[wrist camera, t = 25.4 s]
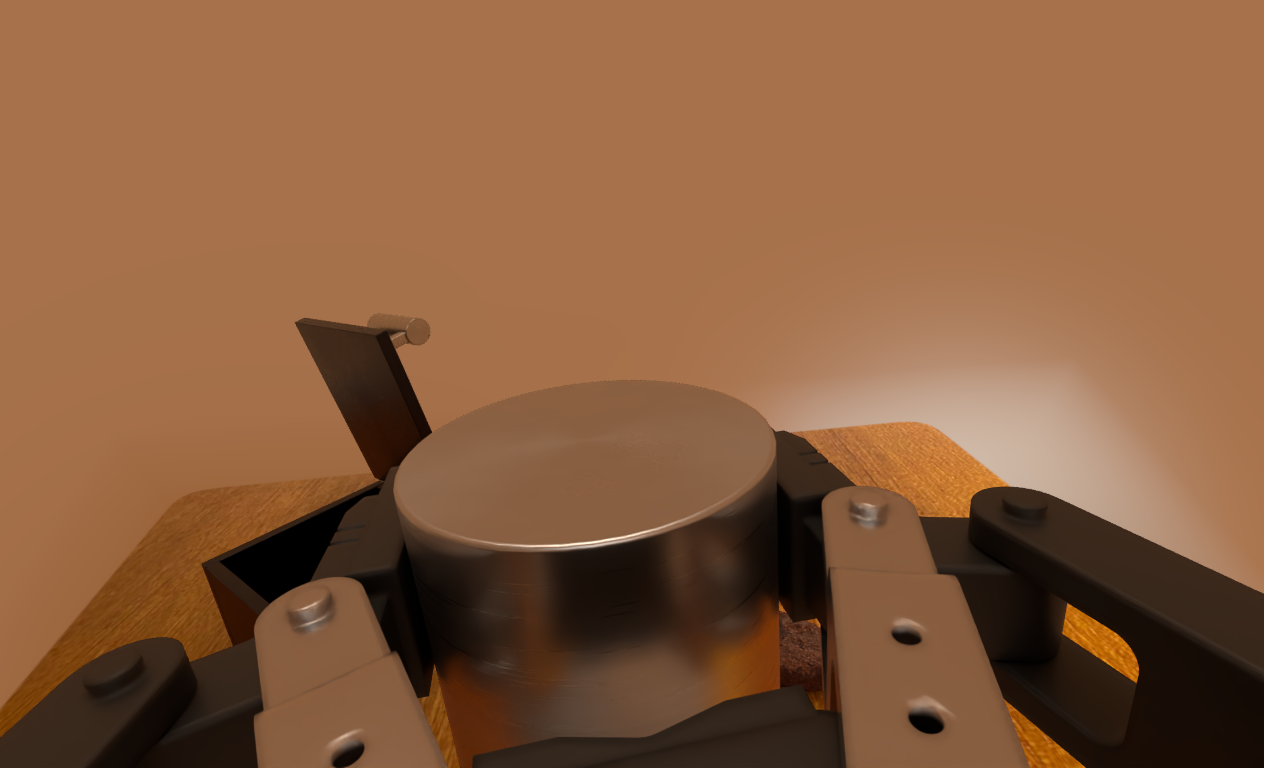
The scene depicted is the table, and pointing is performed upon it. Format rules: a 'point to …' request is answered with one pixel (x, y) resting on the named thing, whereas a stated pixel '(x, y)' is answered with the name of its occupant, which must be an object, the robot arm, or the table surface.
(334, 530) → the dark brown box
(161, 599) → the table surface
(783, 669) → the stone
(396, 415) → the lid
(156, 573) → the table surface
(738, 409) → the canister
